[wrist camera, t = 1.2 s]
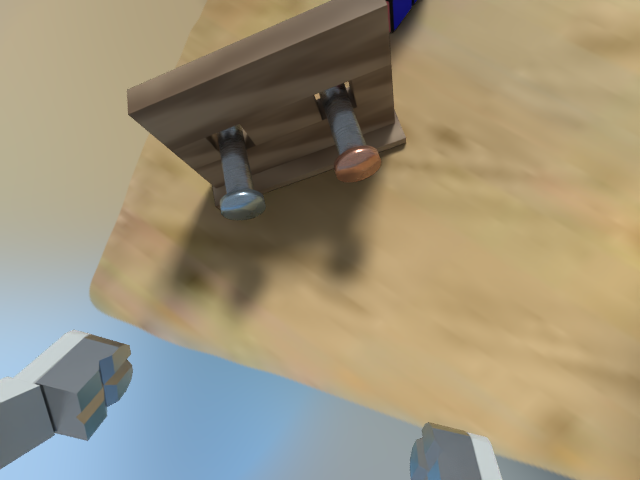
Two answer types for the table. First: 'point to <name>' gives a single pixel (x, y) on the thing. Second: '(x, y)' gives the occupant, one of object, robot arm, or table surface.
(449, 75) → the table surface
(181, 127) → the panel
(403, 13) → the puzzle cube
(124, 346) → the robot arm
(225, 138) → the grey metal rod
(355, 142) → the copper knobbed rod
